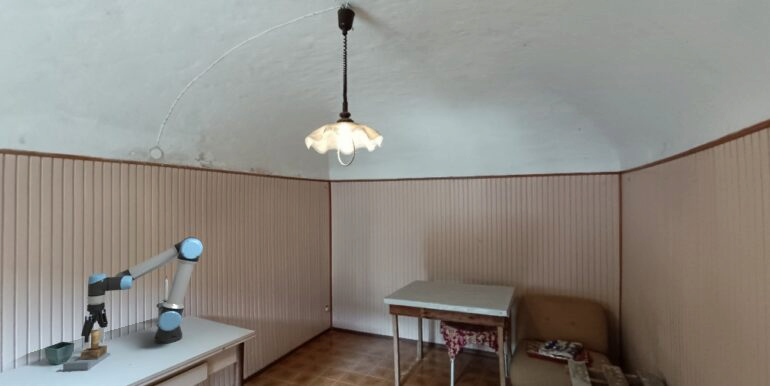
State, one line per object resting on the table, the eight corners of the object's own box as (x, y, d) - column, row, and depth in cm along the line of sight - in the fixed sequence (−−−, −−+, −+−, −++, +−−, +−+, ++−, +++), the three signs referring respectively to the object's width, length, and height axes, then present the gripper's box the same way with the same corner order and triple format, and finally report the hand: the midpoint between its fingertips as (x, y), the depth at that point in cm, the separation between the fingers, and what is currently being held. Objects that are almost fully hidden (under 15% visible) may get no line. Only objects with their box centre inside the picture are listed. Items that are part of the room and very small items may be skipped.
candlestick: (164, 328, 243) (166, 276, 244) (151, 326, 246) (153, 275, 248) (177, 323, 253) (179, 273, 255) (165, 321, 257) (167, 272, 258)
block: (106, 352, 199) (106, 345, 199) (97, 358, 191) (97, 351, 191) (90, 353, 197) (90, 346, 198) (80, 359, 190) (81, 351, 190)
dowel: (99, 353, 196) (100, 329, 197) (95, 356, 193) (96, 331, 193) (92, 353, 196) (93, 329, 196) (88, 356, 192) (89, 331, 192)
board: (110, 354, 199) (110, 347, 199) (87, 370, 181) (87, 362, 181) (87, 356, 198) (88, 348, 198) (62, 371, 179) (63, 363, 179)
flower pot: (56, 367, 184) (57, 349, 184) (43, 365, 186) (43, 347, 186) (74, 359, 193) (75, 342, 193) (61, 358, 194) (62, 341, 195)
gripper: (102, 297, 206) (100, 336, 205) (73, 309, 183) (71, 352, 182) (116, 297, 207) (114, 335, 207) (89, 308, 184) (87, 352, 183)
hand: (94, 343), depth 194 cm, fingers open, 11 cm apart
